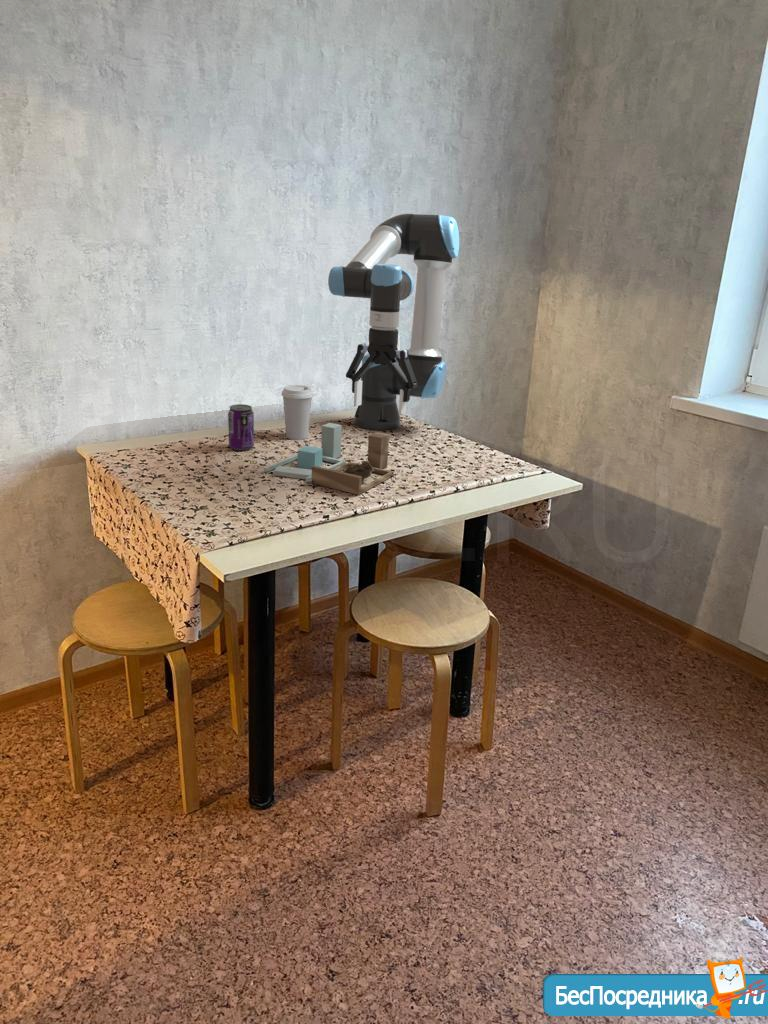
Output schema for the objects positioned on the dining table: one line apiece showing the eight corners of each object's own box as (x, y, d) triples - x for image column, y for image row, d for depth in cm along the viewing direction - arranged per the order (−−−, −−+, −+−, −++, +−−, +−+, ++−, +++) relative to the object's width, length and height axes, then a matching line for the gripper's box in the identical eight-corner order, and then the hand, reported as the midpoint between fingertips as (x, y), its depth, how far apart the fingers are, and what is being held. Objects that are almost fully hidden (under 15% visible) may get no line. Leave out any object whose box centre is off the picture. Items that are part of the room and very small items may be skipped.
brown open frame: (359, 460, 215) (360, 428, 212) (403, 469, 209) (405, 438, 206) (311, 483, 196) (312, 449, 193) (358, 494, 190) (360, 459, 187)
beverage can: (251, 452, 218) (251, 410, 213) (226, 450, 218) (225, 409, 213) (256, 444, 224) (255, 404, 220) (231, 443, 224) (230, 403, 220)
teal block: (305, 463, 212) (305, 445, 210) (322, 465, 210) (322, 448, 208) (297, 468, 207) (297, 450, 205) (314, 471, 206) (314, 453, 204)
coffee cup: (297, 443, 228) (298, 393, 222) (274, 436, 233) (274, 387, 228) (319, 436, 235) (320, 388, 229) (296, 430, 240) (296, 382, 235)
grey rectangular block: (279, 469, 205) (279, 465, 204) (315, 474, 203) (315, 470, 202) (273, 475, 201) (273, 470, 200) (309, 479, 199) (309, 475, 198)
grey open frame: (314, 450, 222) (314, 419, 218) (356, 459, 216) (357, 428, 212) (264, 471, 203) (263, 438, 199) (308, 482, 196) (308, 448, 193)
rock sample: (356, 457, 206) (359, 444, 197) (373, 479, 204) (377, 467, 196) (324, 477, 203) (326, 465, 195) (341, 500, 201) (344, 489, 193)
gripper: (334, 323, 199) (332, 404, 207) (420, 335, 188) (415, 419, 196) (349, 321, 205) (347, 399, 213) (434, 332, 194) (428, 414, 202)
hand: (379, 409), depth 204 cm, fingers open, 13 cm apart
